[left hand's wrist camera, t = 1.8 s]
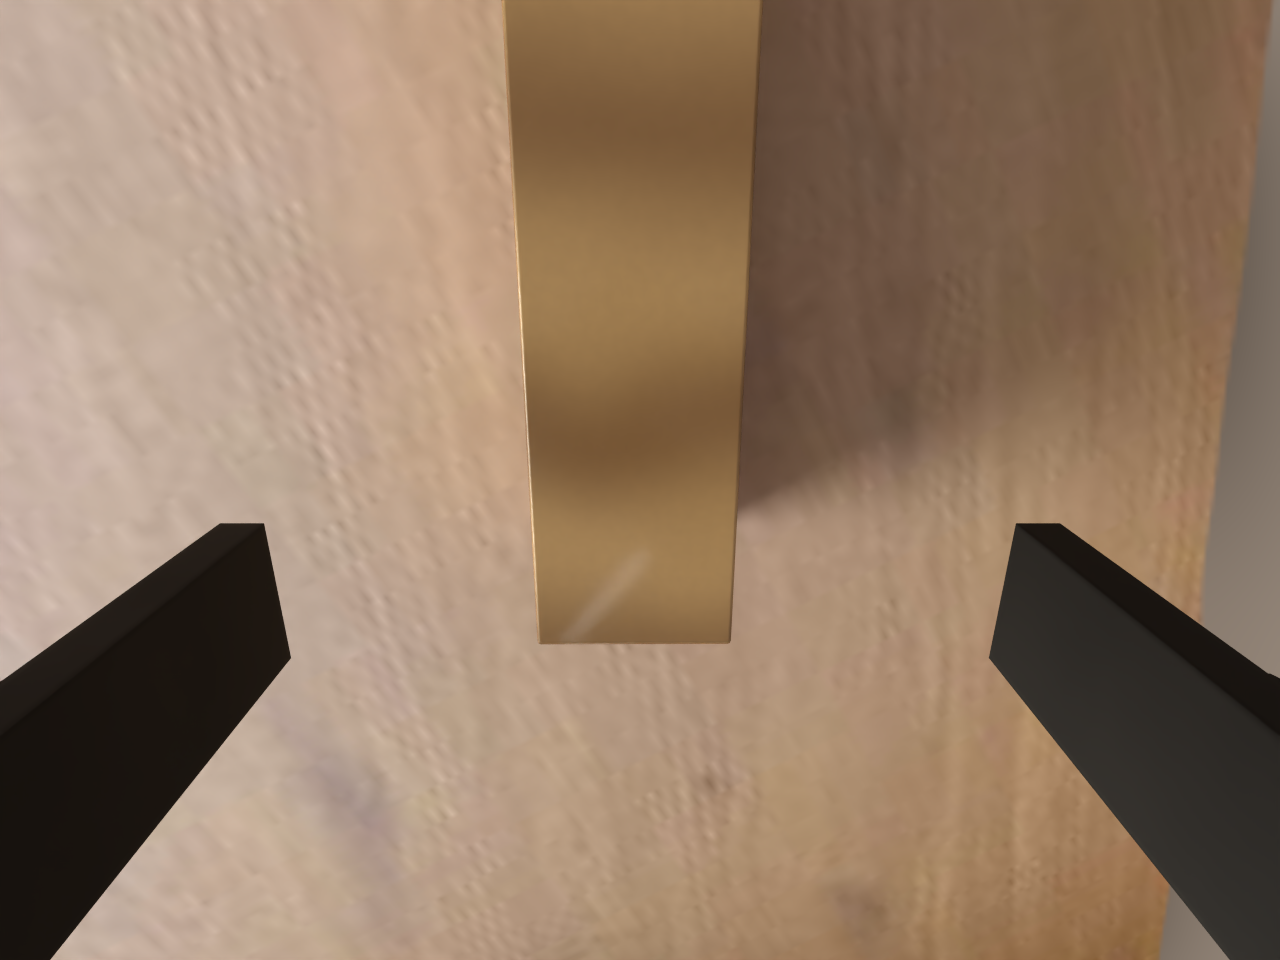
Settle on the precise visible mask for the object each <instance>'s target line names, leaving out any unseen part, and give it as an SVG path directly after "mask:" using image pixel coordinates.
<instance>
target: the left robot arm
mask: <svg viewBox="0 0 1280 960" xmlns="http://www.w3.org/2000/svg"><path fill="white" fill-rule="evenodd" d="M290 659H291V656H290V651H289V646H288V641H287V636H286V631H285V626H284V621H283V616H282V611H281V606H280V601H279V596H278V591H277V586H276V581H275V576H274V571H273V566H272V561H271V556H270V551H269V546H268V541H267V536H266V531H265V526H264V523H220V524H219V525H217V526H216V527H214V528H213V529H212V530H210V531H209V532H208V533H206V534H205V535H203V536H202V537H201V538H199V539H198V540H196V541H195V542H194V543H192V544H191V545H189V546H188V547H187V548H185V549H184V550H183V551H181V552H180V553H178V554H177V555H176V556H174V557H173V558H171V559H170V560H169V561H167V562H166V563H165V564H163V565H162V566H160V567H159V568H158V569H156V570H155V571H153V572H152V573H151V574H149V575H148V576H147V577H145V578H144V579H142V580H141V581H140V582H138V583H137V584H135V585H134V586H133V587H131V588H130V589H129V590H127V591H126V592H124V593H123V594H122V595H120V596H119V597H117V598H116V599H115V600H113V601H112V602H111V603H109V604H108V605H106V606H105V607H104V608H102V609H101V610H99V611H98V612H97V613H95V614H94V615H92V616H91V617H90V618H88V619H87V620H86V621H84V622H83V623H81V624H80V625H79V626H77V627H76V628H74V629H73V630H72V631H70V632H69V633H68V634H66V635H65V636H63V637H62V638H61V639H59V640H58V641H56V642H55V643H54V644H52V645H51V646H50V647H48V648H47V649H45V650H44V651H43V652H41V653H40V654H38V655H37V656H36V657H34V658H33V659H32V660H30V661H29V662H27V663H26V664H25V665H23V666H22V667H20V668H19V669H18V670H16V671H15V672H14V673H12V674H11V675H9V676H8V677H7V678H5V679H4V680H2V681H0V960H50V959H51V958H52V957H53V956H54V954H55V953H56V952H57V951H58V949H59V948H60V947H61V946H62V944H63V943H64V942H65V941H66V939H67V938H68V937H69V936H70V934H71V933H72V932H73V931H74V929H75V928H76V927H77V926H78V924H79V923H80V922H81V921H82V919H83V918H84V917H85V916H86V914H87V913H88V912H89V910H90V909H91V908H92V907H93V905H94V904H95V903H96V902H97V900H98V899H99V898H100V897H101V895H102V894H103V893H104V892H105V890H106V889H107V888H108V887H109V885H110V884H111V883H112V882H113V880H114V879H115V878H116V877H117V875H118V874H119V873H120V872H121V870H122V869H123V868H124V867H125V865H126V864H127V863H128V862H129V860H130V859H131V858H132V857H133V855H134V854H135V853H136V852H137V850H138V849H139V848H140V847H141V845H142V844H143V843H144V842H145V840H146V839H147V838H148V837H149V835H150V834H151V833H152V832H153V830H154V829H155V828H156V826H157V825H158V824H159V823H160V821H161V820H162V819H163V818H164V816H165V815H166V814H167V813H168V811H169V810H170V809H171V808H172V806H173V805H174V804H175V803H176V801H177V800H178V799H179V798H180V796H181V795H182V794H183V793H184V791H185V790H186V789H187V788H188V786H189V785H190V784H191V783H192V781H193V780H194V779H195V778H196V776H197V775H198V774H199V773H200V771H201V770H202V769H203V768H204V766H205V765H206V764H207V763H208V761H209V760H210V759H211V758H212V756H213V755H214V754H215V753H216V751H217V750H218V749H219V748H220V746H221V745H222V744H223V743H224V741H225V740H226V739H227V737H228V736H229V735H230V734H231V732H232V731H233V730H234V729H235V727H236V726H237V725H238V724H239V722H240V721H241V720H242V719H243V717H244V716H245V715H246V714H247V712H248V711H249V710H250V709H251V707H252V706H253V705H254V704H255V702H256V701H257V700H258V699H259V697H260V696H261V695H262V694H263V692H264V691H265V690H266V689H267V687H268V686H269V685H270V684H271V682H272V681H273V680H274V679H275V677H276V676H277V675H278V674H279V672H280V671H281V670H282V669H283V667H284V666H285V665H286V664H287V662H288V661H289V660H290ZM989 659H990V660H991V661H992V662H993V664H994V665H995V666H996V667H997V669H998V670H999V671H1000V672H1001V674H1002V675H1003V676H1004V677H1005V679H1006V680H1007V681H1008V682H1009V684H1010V685H1011V686H1012V687H1013V689H1014V690H1015V691H1016V692H1017V694H1018V695H1019V696H1020V697H1021V699H1022V700H1023V701H1024V702H1025V704H1026V705H1027V706H1028V707H1029V709H1030V710H1031V711H1032V712H1033V714H1034V715H1035V716H1036V717H1037V719H1038V720H1039V721H1040V722H1041V724H1042V725H1043V726H1044V727H1045V729H1046V730H1047V731H1048V732H1049V734H1050V735H1051V736H1052V737H1053V739H1054V740H1055V741H1056V743H1057V744H1058V745H1059V746H1060V748H1061V749H1062V750H1063V751H1064V753H1065V754H1066V755H1067V756H1068V758H1069V759H1070V760H1071V761H1072V763H1073V764H1074V765H1075V766H1076V768H1077V769H1078V770H1079V771H1080V773H1081V774H1082V775H1083V776H1084V778H1085V779H1086V780H1087V781H1088V783H1089V784H1090V785H1091V786H1092V788H1093V789H1094V790H1095V791H1096V793H1097V794H1098V795H1099V796H1100V798H1101V799H1102V800H1103V801H1104V803H1105V804H1106V805H1107V806H1108V808H1109V809H1110V810H1111V811H1112V813H1113V814H1114V815H1115V816H1116V818H1117V819H1118V820H1119V821H1120V823H1121V824H1122V825H1123V826H1124V828H1125V829H1126V830H1127V832H1128V833H1129V834H1130V835H1131V837H1132V838H1133V839H1134V840H1135V842H1136V843H1137V844H1138V845H1139V847H1140V848H1141V849H1142V850H1143V852H1144V853H1145V854H1146V855H1147V857H1148V858H1149V859H1150V860H1151V862H1152V863H1153V864H1154V865H1155V867H1156V868H1157V869H1158V870H1159V872H1160V873H1161V874H1162V875H1163V877H1164V878H1165V879H1166V880H1167V882H1168V883H1169V884H1170V885H1171V887H1172V888H1173V889H1174V890H1175V892H1176V893H1177V894H1178V895H1179V897H1180V898H1181V899H1182V900H1183V902H1184V903H1185V904H1186V905H1187V907H1188V908H1189V909H1190V910H1191V912H1192V913H1193V914H1194V915H1195V917H1196V918H1197V919H1198V921H1199V922H1200V923H1201V924H1202V926H1203V927H1204V928H1205V929H1206V931H1207V932H1208V933H1209V934H1210V936H1211V937H1212V938H1213V939H1214V941H1215V942H1216V943H1217V944H1218V946H1219V947H1220V948H1221V949H1222V951H1223V952H1224V953H1225V954H1226V956H1227V957H1228V958H1229V959H1230V960H1280V678H1278V677H1276V676H1274V675H1272V674H1268V673H1266V672H1265V671H1264V670H1262V669H1261V668H1260V667H1258V666H1257V665H1255V664H1254V663H1253V662H1251V661H1250V660H1248V659H1247V658H1246V657H1244V656H1243V655H1242V654H1240V653H1239V652H1237V651H1236V650H1235V649H1233V648H1232V647H1230V646H1229V645H1228V644H1226V643H1225V642H1224V641H1222V640H1221V639H1219V638H1218V637H1217V636H1215V635H1214V634H1212V633H1211V632H1210V631H1208V630H1207V629H1206V628H1204V627H1203V626H1201V625H1200V624H1199V623H1197V622H1196V621H1194V620H1193V619H1192V618H1190V617H1189V616H1188V615H1186V614H1185V613H1183V612H1182V611H1181V610H1179V609H1178V608H1176V607H1175V606H1174V605H1172V604H1171V603H1169V602H1168V601H1167V600H1165V599H1164V598H1163V597H1161V596H1160V595H1158V594H1157V593H1156V592H1154V591H1153V590H1151V589H1150V588H1149V587H1147V586H1146V585H1145V584H1143V583H1142V582H1140V581H1139V580H1138V579H1136V578H1135V577H1133V576H1132V575H1131V574H1129V573H1128V572H1127V571H1125V570H1124V569H1122V568H1121V567H1120V566H1118V565H1117V564H1115V563H1114V562H1113V561H1111V560H1110V559H1109V558H1107V557H1106V556H1104V555H1103V554H1102V553H1100V552H1099V551H1097V550H1096V549H1095V548H1093V547H1092V546H1091V545H1089V544H1088V543H1086V542H1085V541H1084V540H1082V539H1081V538H1079V537H1078V536H1077V535H1075V534H1074V533H1072V532H1071V531H1070V530H1068V529H1067V528H1066V527H1064V526H1063V525H1061V524H1060V523H1016V526H1015V531H1014V536H1013V541H1012V546H1011V551H1010V556H1009V561H1008V566H1007V571H1006V576H1005V581H1004V586H1003V591H1002V596H1001V601H1000V606H999V611H998V616H997V621H996V626H995V631H994V636H993V641H992V646H991V651H990V656H989Z"/></svg>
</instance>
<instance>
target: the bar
mask: <svg viewBox="0 0 1280 960" xmlns="http://www.w3.org/2000/svg"><path fill="white" fill-rule="evenodd" d="M762 10H763V0H502V15H503V33H504V50H505V68H506V86H507V104H508V122H509V139H510V157H511V175H512V193H513V210H514V228H515V246H516V264H517V282H518V299H519V317H520V335H521V353H522V371H523V388H524V406H525V424H526V442H527V460H528V477H529V495H530V513H531V531H532V548H533V566H534V584H535V602H536V620H537V637H538V642H539V644H728V643H730V641H731V626H732V607H733V587H734V567H735V547H736V527H737V507H738V487H739V467H740V447H741V427H742V408H743V388H744V368H745V348H746V328H747V308H748V288H749V268H750V248H751V228H752V209H753V189H754V169H755V149H756V129H757V109H758V89H759V69H760V49H761V29H762Z"/></svg>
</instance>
